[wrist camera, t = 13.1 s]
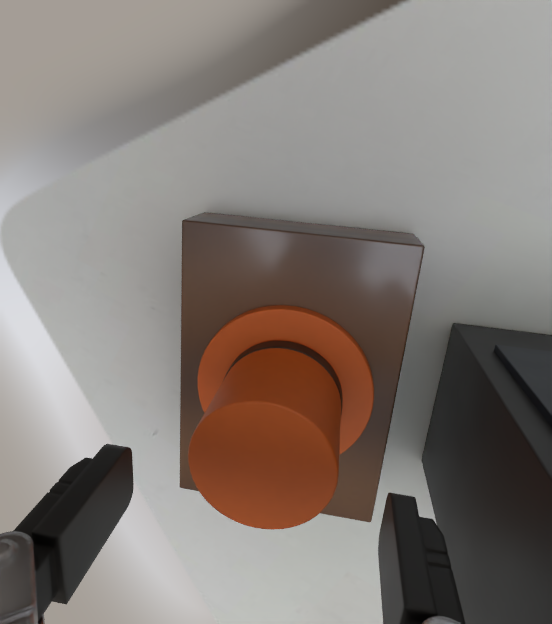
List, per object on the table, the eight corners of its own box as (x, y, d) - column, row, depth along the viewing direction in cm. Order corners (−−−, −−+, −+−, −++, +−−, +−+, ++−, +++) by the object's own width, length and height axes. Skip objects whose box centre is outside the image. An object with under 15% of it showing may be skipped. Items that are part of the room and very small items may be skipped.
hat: (205, 292, 20) (149, 342, 14) (388, 319, 19) (404, 385, 13) (197, 444, 22) (148, 535, 17) (357, 474, 21) (359, 581, 16)
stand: (203, 211, 21) (181, 219, 19) (415, 233, 20) (425, 245, 17) (197, 452, 26) (179, 488, 23) (368, 482, 25) (371, 523, 22)
